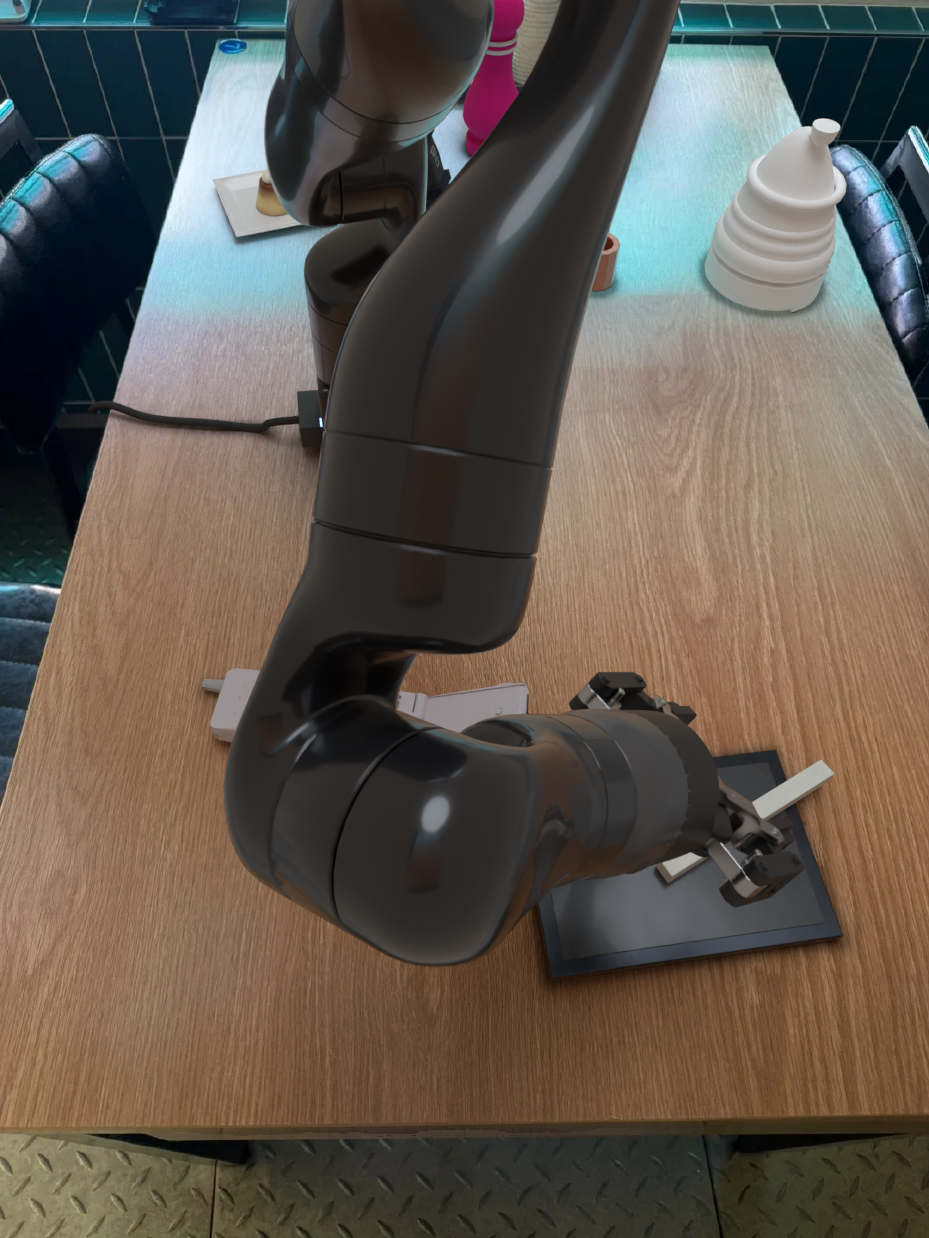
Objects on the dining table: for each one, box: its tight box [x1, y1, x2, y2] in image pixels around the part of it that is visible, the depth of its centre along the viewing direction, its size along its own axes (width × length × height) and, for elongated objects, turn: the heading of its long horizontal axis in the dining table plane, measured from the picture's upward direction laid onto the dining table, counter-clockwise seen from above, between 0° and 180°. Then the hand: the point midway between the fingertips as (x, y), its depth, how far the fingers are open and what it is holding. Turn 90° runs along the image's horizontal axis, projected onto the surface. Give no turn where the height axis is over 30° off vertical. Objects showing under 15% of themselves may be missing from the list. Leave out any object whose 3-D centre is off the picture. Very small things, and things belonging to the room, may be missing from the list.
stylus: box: [656, 759, 835, 883], centre depth 67 cm, size 1×1×15 cm
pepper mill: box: [462, 0, 525, 157], centre depth 111 cm, size 7×7×20 cm
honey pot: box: [703, 118, 847, 313], centre depth 98 cm, size 13×13×18 cm
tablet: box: [535, 749, 844, 982], centre depth 67 cm, size 20×14×1 cm
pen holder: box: [591, 232, 621, 292], centre depth 102 cm, size 4×4×5 cm
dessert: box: [212, 168, 304, 238], centre depth 109 cm, size 12×12×5 cm
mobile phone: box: [201, 667, 530, 743], centre depth 70 cm, size 6×6×25 cm
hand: (728, 774), depth 57 cm, fingers open, 8 cm apart
